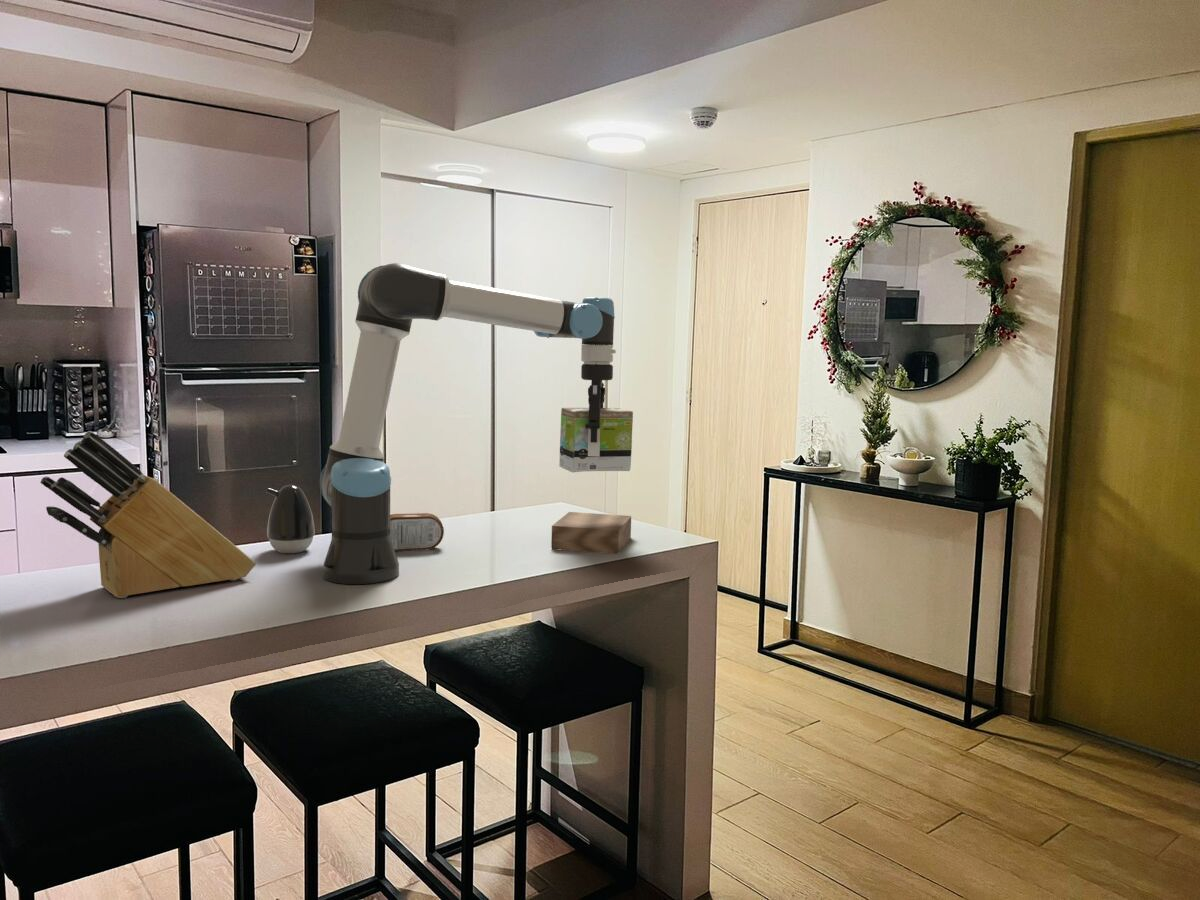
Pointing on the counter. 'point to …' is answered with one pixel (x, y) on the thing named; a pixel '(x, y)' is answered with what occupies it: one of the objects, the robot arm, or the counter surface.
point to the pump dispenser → (290, 520)
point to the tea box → (612, 440)
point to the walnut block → (591, 532)
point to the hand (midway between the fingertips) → (595, 452)
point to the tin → (415, 531)
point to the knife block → (143, 527)
